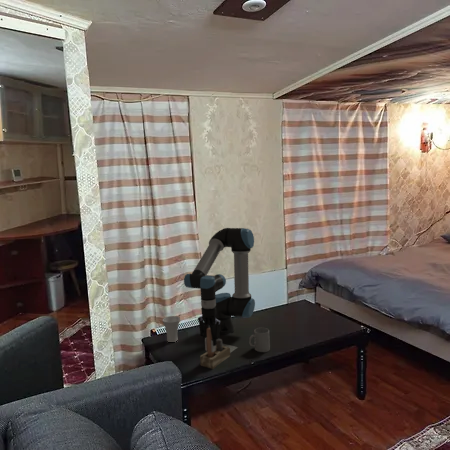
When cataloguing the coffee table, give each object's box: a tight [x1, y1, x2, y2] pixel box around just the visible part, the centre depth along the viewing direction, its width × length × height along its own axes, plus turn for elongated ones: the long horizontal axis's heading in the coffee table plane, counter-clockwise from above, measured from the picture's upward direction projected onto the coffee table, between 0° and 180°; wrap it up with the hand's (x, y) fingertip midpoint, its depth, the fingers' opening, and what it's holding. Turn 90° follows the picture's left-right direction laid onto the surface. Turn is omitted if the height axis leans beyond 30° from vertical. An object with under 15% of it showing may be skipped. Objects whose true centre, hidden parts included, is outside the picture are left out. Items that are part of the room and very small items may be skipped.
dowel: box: [206, 327, 214, 358], centre depth 214 cm, size 3×3×16 cm
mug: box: [248, 327, 271, 353], centre depth 229 cm, size 12×8×11 cm
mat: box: [222, 343, 239, 354], centre depth 232 cm, size 10×10×1 cm
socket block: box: [199, 338, 231, 370], centre depth 218 cm, size 8×16×10 cm, turn 146°
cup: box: [162, 315, 181, 343], centre depth 245 cm, size 10×10×14 cm
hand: (210, 350), depth 214 cm, fingers closed on dowel, 3 cm apart
